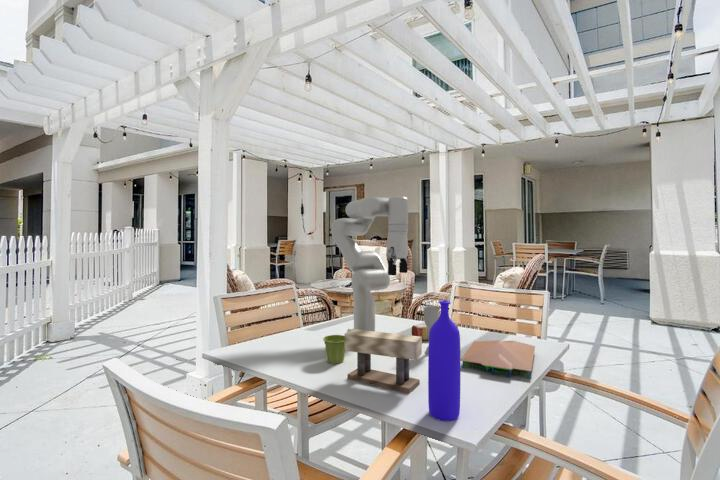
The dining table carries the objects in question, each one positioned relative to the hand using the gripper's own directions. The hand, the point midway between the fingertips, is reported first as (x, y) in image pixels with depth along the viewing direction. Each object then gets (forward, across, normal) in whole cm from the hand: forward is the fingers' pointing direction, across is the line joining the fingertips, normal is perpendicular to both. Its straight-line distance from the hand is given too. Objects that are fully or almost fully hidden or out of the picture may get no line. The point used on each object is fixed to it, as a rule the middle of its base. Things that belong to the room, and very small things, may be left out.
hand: (397, 273), depth 145 cm
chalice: (+32, -12, +9) cm, 36 cm away
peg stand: (+32, +24, +6) cm, 41 cm away
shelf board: (+23, +24, +6) cm, 33 cm away
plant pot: (+32, +16, -18) cm, 40 cm away
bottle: (+32, +35, +30) cm, 56 cm away
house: (+33, -16, +34) cm, 50 cm away
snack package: (+33, -33, +3) cm, 46 cm away
